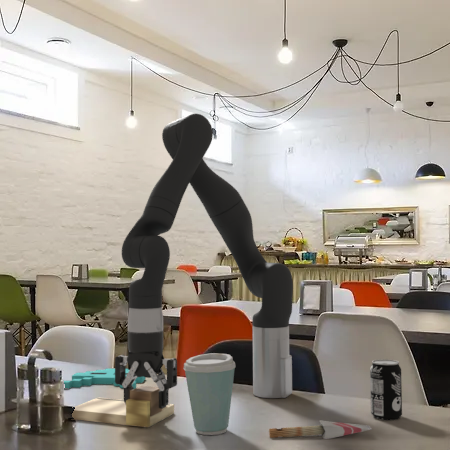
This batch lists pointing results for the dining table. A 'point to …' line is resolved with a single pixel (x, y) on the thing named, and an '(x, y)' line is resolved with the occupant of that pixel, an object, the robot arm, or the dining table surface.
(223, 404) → the disposable coffee cup
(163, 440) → the dining table surface
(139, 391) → the brown block with handle
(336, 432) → the paintbrush
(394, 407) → the beverage can
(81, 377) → the alien figure
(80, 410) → the board
